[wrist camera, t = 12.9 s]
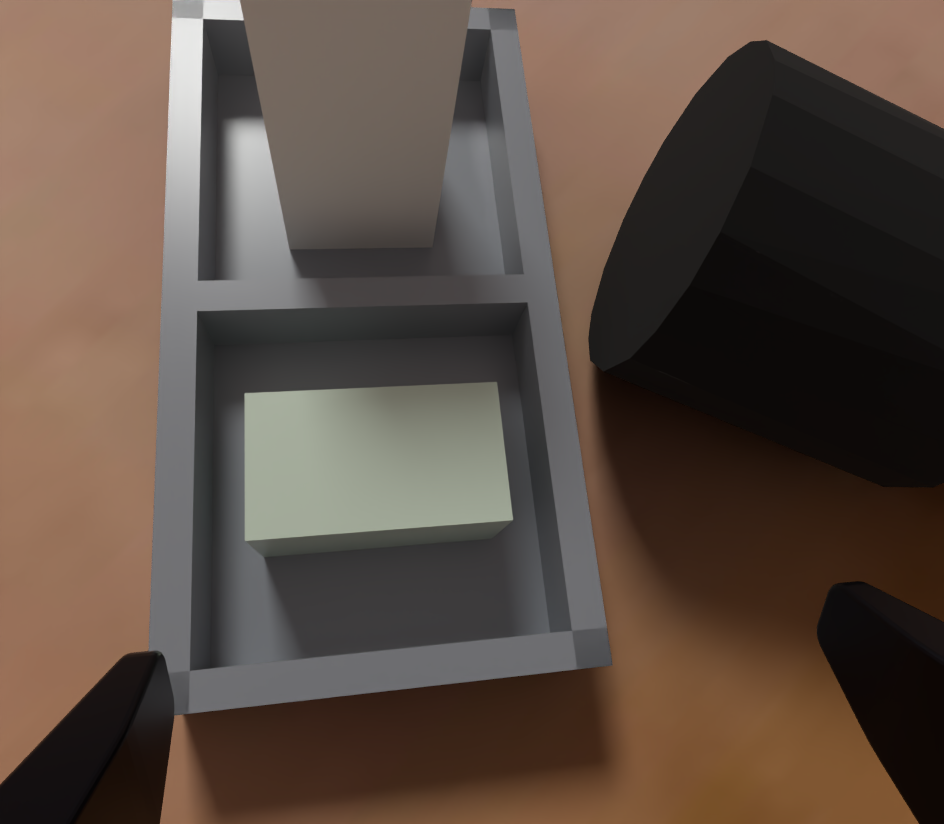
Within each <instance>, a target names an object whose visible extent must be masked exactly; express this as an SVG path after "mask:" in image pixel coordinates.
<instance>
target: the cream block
mask: <svg viewBox="0 0 944 824" xmlns="http://www.w3.org/2000/svg"><path fill="white" fill-rule="evenodd" d="M240 3H241V8H242V13H243V18H244V23H245V29H246V34H247V39H248V44H249V49H250V54H251V59H252V64H253V69H254V74H255V79H256V84H257V89H258V94H259V99H260V104H261V109H262V114H263V119H264V124H265V129H266V134H267V139H268V144H269V149H270V154H271V159H272V164H273V169H274V174H275V179H276V184H277V189H278V194H279V199H280V204H281V209H282V214H283V219H284V224H285V230H286V235H287V240H288V245H289V250H291V249H359V248H426V247H432V246H433V240H434V234H435V228H436V221H437V215H438V209H439V203H440V196H441V190H442V184H443V178H444V171H445V165H446V159H447V153H448V146H449V140H450V134H451V128H452V121H453V115H454V109H455V103H456V96H457V90H458V84H459V78H460V71H461V65H462V59H463V53H464V46H465V40H466V34H467V28H468V22H469V15H470V9H471V3H472V0H240Z"/></svg>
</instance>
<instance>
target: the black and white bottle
mask: <svg viewBox="0 0 944 824" xmlns="http://www.w3.org/2000/svg"><path fill="white" fill-rule="evenodd" d="M588 339H589V351H590V361H592V362H593V363H594V364H595V365H596V366H598V367H599V368H600V369H601V370H602V371H604V372H606V373H609V374H611V375H613V376H616V377H618V378H621V379H623V380H626V381H628V382H630V383H633V384H635V385H638V386H640V387H643V388H645V389H647V390H650V391H652V392H655V393H657V394H660V395H662V396H664V397H667V398H669V399H672V400H674V401H677V402H679V403H681V404H684V405H686V406H689V407H691V408H694V409H696V410H698V411H701V412H703V413H706V414H708V415H711V416H713V417H715V418H718V419H720V420H723V421H725V422H728V423H730V424H732V425H735V426H737V427H740V428H742V429H745V430H747V431H749V432H752V433H754V434H757V435H759V436H762V437H764V438H766V439H769V440H771V441H774V442H776V443H779V444H781V445H783V446H786V447H788V448H791V449H793V450H796V451H798V452H800V453H803V454H805V455H808V456H810V457H813V458H815V459H817V460H820V461H822V462H825V463H827V464H830V465H832V466H834V467H837V468H839V469H842V470H844V471H847V472H849V473H851V474H854V475H856V476H859V477H861V478H864V479H866V480H868V481H871V482H873V483H876V484H878V485H881V486H883V487H935V486H938V485H940V484H942V483H944V129H943V128H941V127H939V126H937V125H935V124H933V123H931V122H929V121H927V120H925V119H923V118H921V117H919V116H917V115H915V114H913V113H911V112H909V111H907V110H905V109H903V108H901V107H899V106H897V105H895V104H893V103H891V102H889V101H887V100H885V99H883V98H881V97H879V96H877V95H875V94H873V93H871V92H869V91H867V90H865V89H863V88H861V87H859V86H857V85H855V84H853V83H851V82H849V81H847V80H845V79H843V78H841V77H839V76H837V75H835V74H833V73H831V72H829V71H827V70H825V69H823V68H821V67H819V66H817V65H815V64H813V63H811V62H809V61H807V60H805V59H803V58H801V57H799V56H797V55H795V54H793V53H791V52H789V51H787V50H785V49H783V48H781V47H779V46H777V45H775V44H773V43H771V42H769V41H767V40H765V41H752V42H749V43H748V44H746V45H745V46H743V47H742V48H740V49H739V50H738V51H736V52H735V53H733V54H732V55H730V56H729V57H727V59H726V60H725V61H724V62H723V63H722V64H721V66H720V67H719V68H718V69H717V70H716V71H715V72H714V74H713V75H712V76H711V77H710V78H709V79H708V80H707V82H706V83H705V84H704V85H703V86H702V87H701V88H700V90H699V91H698V92H697V93H696V94H695V96H694V97H693V99H692V100H691V102H690V103H689V105H688V106H687V108H686V109H685V111H684V112H683V114H682V115H681V117H680V118H679V120H678V121H677V123H676V124H675V126H674V127H673V129H672V130H671V132H670V133H669V135H668V136H667V138H666V139H665V141H664V142H663V144H662V146H661V148H660V149H659V151H658V153H657V155H656V157H655V158H654V160H653V162H652V164H651V166H650V167H649V169H648V171H647V173H646V175H645V176H644V178H643V180H642V182H641V184H640V187H639V189H638V191H637V193H636V195H635V197H634V199H633V201H632V203H631V205H630V207H629V209H628V211H627V213H626V215H625V217H624V219H623V222H622V225H621V227H620V230H619V232H618V235H617V237H616V240H615V242H614V245H613V247H612V250H611V252H610V255H609V257H608V260H607V263H606V265H605V268H604V271H603V274H602V278H601V281H600V285H599V289H598V292H597V296H596V299H595V303H594V306H593V310H592V314H591V322H590V330H589V338H588Z"/></svg>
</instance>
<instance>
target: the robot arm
mask: <svg viewBox="0 0 944 824" xmlns="http://www.w3.org/2000/svg"><path fill="white" fill-rule="evenodd" d="M817 637H818V641H819V644H820V646H821V648H822V650H823V652H824V654H825V656H826V658H827V660H828V662H829V664H830V666H831V668H832V670H833V672H834V674H835V676H836V678H837V680H838V682H839V684H840V686H841V688H842V690H843V692H844V694H845V696H846V698H847V700H848V702H849V704H850V706H851V708H852V710H853V712H854V714H855V716H856V718H857V720H858V722H859V724H860V726H861V728H862V730H863V732H864V734H865V736H866V737H867V739H868V741H869V743H870V745H871V747H872V748H873V750H874V752H875V753H876V755H877V757H878V758H879V760H880V762H881V763H882V765H883V767H884V768H885V770H886V771H887V773H888V775H889V776H890V778H891V779H892V781H893V783H894V784H895V786H896V788H897V789H898V791H899V792H900V794H901V796H902V797H903V799H904V800H905V802H906V804H907V805H908V807H909V808H910V810H911V812H912V813H913V815H914V816H915V818H916V820H917V821H918V823H919V824H944V622H942V621H940V620H938V619H936V618H934V617H932V616H930V615H928V614H926V613H924V612H923V611H921V610H919V609H917V608H915V607H913V606H911V605H909V604H907V603H905V602H903V601H901V600H899V599H897V598H895V597H893V596H891V595H889V594H887V593H885V592H883V591H881V590H879V589H877V588H875V587H873V586H871V585H869V584H867V583H865V582H859V581H855V582H845V583H837V584H834V585H833V586H832V587H831V588H830V589H829V591H828V594H827V597H826V600H825V603H824V606H823V609H822V612H821V615H820V618H819V621H818V625H817ZM174 712H175V703H174V695H173V691H172V686H171V682H170V678H169V673H168V669H167V665H166V660H165V657H164V655H163V654H162V652H160V651H156V650H155V651H145V652H134V653H129V654H126V655H125V656H123V657H122V658H121V659H120V660H119V661H118V662H117V663H116V664H115V665H114V666H113V667H112V668H111V669H110V670H109V671H108V672H107V673H106V674H105V675H104V676H103V677H102V678H101V679H100V681H99V682H98V683H97V684H96V685H95V686H94V687H93V688H92V689H91V690H90V691H89V692H88V693H87V694H86V695H85V696H84V697H83V698H82V699H81V700H80V701H79V703H78V704H77V705H76V706H75V707H74V708H73V709H72V710H71V711H70V712H69V713H68V714H67V715H66V716H65V717H64V718H63V719H62V720H61V721H60V722H59V723H58V725H57V726H56V727H55V728H54V729H53V730H52V731H51V732H50V733H49V734H48V735H47V736H46V737H45V738H44V739H43V740H42V741H41V742H40V743H39V744H38V745H37V747H36V748H35V749H34V750H33V751H32V752H31V753H30V754H29V755H28V756H27V757H26V758H25V759H24V760H23V761H22V762H21V763H20V764H19V765H18V766H17V767H16V769H15V770H14V771H13V772H12V773H11V774H10V775H9V776H8V777H7V778H6V779H5V780H4V781H3V782H2V783H1V784H0V824H160V818H161V810H162V803H163V796H164V788H165V781H166V774H167V766H168V759H169V752H170V744H171V737H172V730H173V722H174Z"/></svg>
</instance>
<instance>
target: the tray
mask: <svg viewBox="0 0 944 824" xmlns="http://www.w3.org/2000/svg"><path fill="white" fill-rule="evenodd" d="M155 650H156V651H160V652H162V654H163V655H164V657H165V660H166V665H167V669H168V673H169V678H170V682H171V686H172V691H173V695H174V703H175V712H174V715H182V714H190V713H199V712H208V711H217V710H225V709H234V708H243V707H252V706H260V705H269V704H278V703H287V702H296V701H304V700H313V699H322V698H331V697H339V696H348V695H357V694H366V693H374V692H383V691H392V690H401V689H409V688H418V687H427V686H436V685H445V684H453V683H462V682H471V681H480V680H488V679H497V678H506V677H515V676H523V675H532V674H541V673H550V672H558V671H567V670H576V669H585V668H594V667H602V666H611V665H612V659H611V652H610V645H609V639H608V632H607V625H606V618H605V612H604V605H603V598H602V592H601V585H600V578H599V572H598V565H597V558H596V552H595V545H594V538H593V531H592V525H591V518H590V511H589V505H588V498H587V491H586V485H585V478H584V471H583V465H582V458H581V451H580V444H579V438H578V431H577V424H576V418H575V411H574V404H573V398H572V391H571V384H570V378H569V371H568V364H567V357H566V351H565V344H564V337H563V331H562V324H561V317H560V311H559V304H558V297H557V291H556V284H555V277H554V270H553V264H552V257H551V250H550V244H549V237H548V230H547V224H546V217H545V210H544V204H543V197H542V190H541V183H540V177H539V170H538V163H537V157H536V150H535V143H534V137H533V130H532V123H531V117H530V110H529V103H528V97H527V90H526V83H525V76H524V70H523V63H522V56H521V50H520V43H519V36H518V30H517V23H516V16H515V10H514V9H497V8H473V7H471V9H470V15H469V22H468V28H467V34H466V40H465V46H464V53H463V59H462V65H461V71H460V78H459V84H458V90H457V96H456V103H455V109H454V115H453V121H452V128H451V134H450V140H449V146H448V153H447V159H446V165H445V171H444V178H443V184H442V190H441V196H440V203H439V209H438V215H437V221H436V228H435V234H434V240H433V246H432V247H426V248H359V249H291V250H289V245H288V240H287V235H286V230H285V224H284V219H283V214H282V209H281V204H280V199H279V194H278V189H277V184H276V179H275V174H274V169H273V164H272V159H271V154H270V149H269V144H268V139H267V134H266V129H265V124H264V119H263V114H262V109H261V104H260V99H259V94H258V89H257V84H256V79H255V74H254V69H253V64H252V59H251V54H250V49H249V44H248V39H247V34H246V29H245V23H244V18H243V13H242V8H241V3H240V0H173V8H172V35H171V62H170V88H169V115H168V142H167V169H166V196H165V223H164V250H163V277H162V304H161V330H160V357H159V384H158V411H157V438H156V465H155V492H154V519H153V545H152V572H151V599H150V626H149V651H155Z"/></svg>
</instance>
